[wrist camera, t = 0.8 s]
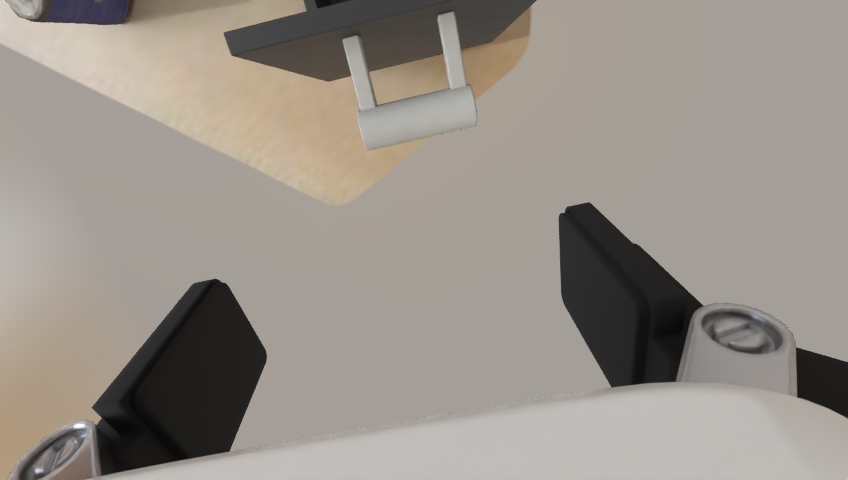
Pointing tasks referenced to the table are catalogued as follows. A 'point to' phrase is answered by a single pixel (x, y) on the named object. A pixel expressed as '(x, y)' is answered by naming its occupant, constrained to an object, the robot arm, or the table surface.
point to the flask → (74, 11)
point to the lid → (384, 55)
